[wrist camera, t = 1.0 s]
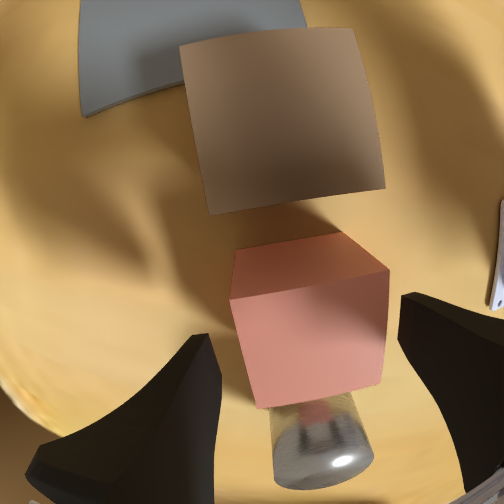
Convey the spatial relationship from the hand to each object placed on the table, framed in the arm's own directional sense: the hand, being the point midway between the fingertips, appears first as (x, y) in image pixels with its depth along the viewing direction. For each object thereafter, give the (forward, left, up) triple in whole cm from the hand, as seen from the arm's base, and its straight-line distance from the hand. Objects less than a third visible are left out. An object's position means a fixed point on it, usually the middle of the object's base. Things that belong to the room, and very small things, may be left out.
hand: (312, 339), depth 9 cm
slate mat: (+3, -16, -4) cm, 17 cm away
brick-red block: (0, 0, -4) cm, 4 cm away
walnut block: (0, -7, -4) cm, 9 cm away
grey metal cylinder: (0, +8, -4) cm, 9 cm away
